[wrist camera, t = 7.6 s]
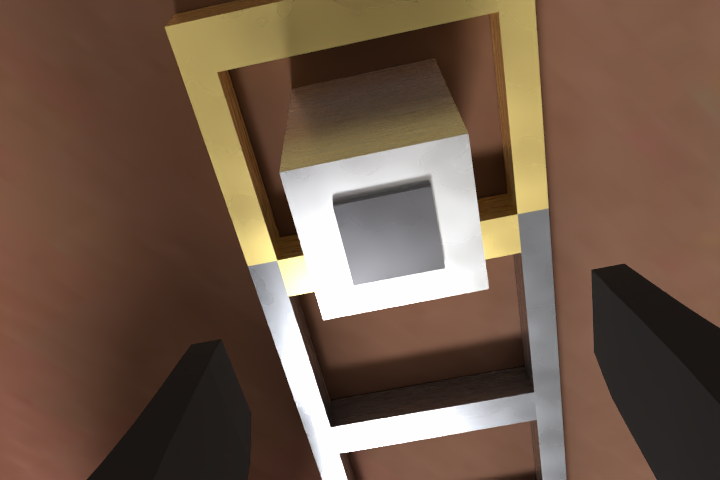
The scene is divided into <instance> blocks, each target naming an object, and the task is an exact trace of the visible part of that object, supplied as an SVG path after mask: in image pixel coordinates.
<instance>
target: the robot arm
mask: <svg viewBox="0 0 720 480" xmlns="http://www.w3.org/2000/svg"><path fill="white" fill-rule="evenodd" d="M592 301H593V331H594V353H595V356H596V358H597V361H598V363H599V366H600V369H601V371H602V374H603V377H604V379H605V382H606V384H607V386H608V389H609V391H610V394H611V396H612V399H613V401H614V402H615V404H616V406H617V408H618V410H619V412H620V414H621V415H622V417H623V419H624V421H625V423H626V425H627V426H628V428H629V430H630V432H631V434H632V436H633V437H634V439H635V441H636V443H637V445H638V446H639V448H640V450H641V452H642V454H643V455H644V457H645V459H646V461H647V463H648V464H649V466H650V468H651V470H652V472H653V473H654V475H655V477H656V479H657V480H720V328H719V327H717V326H715V325H714V324H712V323H711V322H709V321H708V320H706V319H704V318H703V317H701V316H700V315H698V314H697V313H695V312H694V311H692V310H691V309H689V308H688V307H686V306H685V305H683V304H682V303H680V302H679V301H677V300H676V299H674V298H673V297H671V296H670V295H668V294H667V293H666V292H664V291H663V290H661V289H660V288H658V287H657V286H656V285H654V284H653V283H651V282H650V281H648V280H647V279H646V278H644V277H643V276H641V275H640V274H638V273H637V272H636V271H634V270H633V269H631V268H630V267H628V266H627V265H625V264H620V265H615V266H609V267H604V268H599V269H593V270H592ZM250 446H251V412H250V410H249V407H248V405H247V402H246V400H245V397H244V395H243V392H242V390H241V387H240V385H239V382H238V380H237V377H236V375H235V372H234V370H233V367H232V365H231V362H230V360H229V357H228V355H227V352H226V350H225V347H224V345H223V342H222V340H221V339H220V340H215V341H209V342H204V343H199V344H193V345H191V346H190V347H189V349H188V350H187V351H186V353H185V354H184V355H183V357H182V358H181V360H180V361H179V362H178V364H177V365H176V367H175V368H174V369H173V371H172V372H171V374H170V375H169V376H168V378H167V379H166V381H165V382H164V383H163V385H162V386H161V388H160V389H159V390H158V392H157V393H156V394H155V396H154V397H153V399H152V400H151V401H150V403H149V404H148V405H147V407H146V408H145V409H144V411H143V412H142V413H141V415H140V416H139V417H138V419H137V420H136V421H135V423H134V424H133V425H132V426H131V428H130V429H129V430H128V431H127V433H126V434H125V435H124V436H123V437H122V439H121V440H120V441H119V442H118V444H117V445H116V446H115V447H114V449H113V450H112V451H111V452H110V453H109V455H108V456H107V457H106V458H105V460H104V461H103V462H102V463H101V464H100V465H99V467H98V468H97V469H96V470H95V471H94V472H93V473H92V474H91V476H90V477H89V478H88V479H87V480H247V478H248V471H249V464H250Z"/></svg>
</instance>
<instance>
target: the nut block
mask: <svg viewBox="0 0 720 480" xmlns="http://www.w3.org/2000/svg"><path fill="white" fill-rule="evenodd" d="M279 173H280V177H281V180H282V183H283V187H284V190H285V193H286V197H287V200H288V203H289V207H290V210H291V213H292V217H293V220H294V223H295V227H296V230H297V233H298V237H299V240H300V244H301V247H302V250H303V254H304V257H305V260H306V264H307V267H308V270H309V274H310V277H311V280H312V284H313V287H314V290H315V294H316V297H317V300H318V304H319V307H320V310H321V314H322V317H323V320H326V319H331V318H336V317H342V316H347V315H352V314H358V313H363V312H368V311H374V310H379V309H384V308H390V307H395V306H400V305H405V304H411V303H416V302H421V301H427V300H432V299H437V298H443V297H448V296H453V295H459V294H464V293H469V292H475V291H480V290H485V289H489V286H488V278H487V271H486V263H485V256H484V248H483V241H482V233H481V226H480V218H479V211H478V203H477V195H476V188H475V180H474V173H473V165H472V158H471V150H470V143H469V135H468V132H467V130H466V127H465V125H464V123H463V121H462V118H461V116H460V114H459V112H458V109H457V107H456V105H455V103H454V100H453V98H452V96H451V94H450V91H449V89H448V87H447V85H446V82H445V80H444V78H443V76H442V73H441V71H440V69H439V67H438V64H437V62H436V60H435V58H433V59H428V60H423V61H419V62H414V63H409V64H405V65H400V66H396V67H391V68H386V69H382V70H377V71H372V72H368V73H363V74H358V75H354V76H349V77H344V78H340V79H335V80H331V81H326V82H321V83H317V84H312V85H307V86H303V87H298V88H293V89H292V90H291V97H290V104H289V111H288V117H287V124H286V131H285V138H284V144H283V151H282V158H281V165H280V171H279Z"/></svg>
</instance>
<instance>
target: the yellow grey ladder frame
mask: <svg viewBox="0 0 720 480" xmlns="http://www.w3.org/2000/svg"><path fill="white" fill-rule="evenodd" d="M486 14H489V16H490V26H491V36H492V46H493V56H494V65H495V75H496V85H497V95H498V105H499V115H500V125H501V135H502V145H503V155H504V165H505V175H506V184H507V193H504V194H499V195H494V196H489V197H484V198H479V199H477V203H478V211H479V218H480V226H481V233H482V241H483V248H484V256H485V259H490V258H495V257H501V256H506V255H511V254H514V264H515V274H516V284H517V294H518V303H519V313H520V323H521V333H522V343H523V353H524V363H525V366H522V367H516V368H510V369H505V370H499V371H493V372H488V373H482V374H476V375H471V376H465V377H459V378H454V379H448V380H442V381H437V382H431V383H425V384H420V385H414V386H408V387H403V388H397V389H391V390H386V391H380V392H375V393H369V394H363V395H358V396H352V397H346V398H341V399H335V400H330V397H329V394H328V391H327V387H326V384H325V381H324V378H323V374H322V371H321V368H320V365H319V361H318V358H317V355H316V352H315V349H314V345H313V342H312V339H311V336H310V332H309V329H308V326H307V323H306V320H305V316H304V313H303V310H302V307H301V303H300V300H299V297H298V295H299V294H304V293H310V292H315V290H314V287H313V284H312V280H311V277H310V274H309V270H308V267H307V264H306V260H305V257H304V254H303V250H302V247H301V244H300V240H299V237H298V234H295V235H289V236H284V237H280V236H279V232H278V229H277V226H276V223H275V220H274V216H273V213H272V210H271V207H270V203H269V200H268V197H267V194H266V191H265V187H264V184H263V181H262V178H261V174H260V171H259V168H258V165H257V161H256V158H255V155H254V152H253V149H252V145H251V142H250V139H249V136H248V132H247V129H246V126H245V123H244V120H243V116H242V113H241V110H240V107H239V103H238V100H237V97H236V94H235V90H234V87H233V84H232V81H231V78H230V74H229V71H228V70H230V69H234V68H239V67H244V66H248V65H253V64H258V63H262V62H267V61H272V60H276V59H281V58H286V57H290V56H295V55H300V54H304V53H309V52H314V51H318V50H323V49H328V48H332V47H337V46H342V45H346V44H351V43H356V42H360V41H365V40H370V39H374V38H379V37H384V36H388V35H393V34H398V33H402V32H407V31H412V30H416V29H421V28H426V27H430V26H435V25H440V24H444V23H449V22H454V21H458V20H463V19H468V18H472V17H477V16H482V15H486ZM165 29H166V32H167V35H168V38H169V41H170V44H171V46H172V49H173V52H174V55H175V58H176V61H177V64H178V67H179V69H180V72H181V75H182V78H183V81H184V84H185V87H186V90H187V92H188V95H189V98H190V101H191V104H192V107H193V110H194V113H195V115H196V118H197V121H198V124H199V127H200V130H201V133H202V136H203V138H204V141H205V144H206V147H207V150H208V153H209V156H210V159H211V161H212V164H213V167H214V170H215V173H216V176H217V179H218V182H219V184H220V187H221V190H222V193H223V196H224V199H225V202H226V205H227V207H228V210H229V213H230V216H231V219H232V222H233V225H234V228H235V230H236V233H237V236H238V239H239V242H240V245H241V248H242V251H243V253H244V256H245V259H246V262H247V265H248V268H249V271H250V273H251V276H252V279H253V282H254V285H255V288H256V291H257V294H258V296H259V299H260V302H261V305H262V308H263V311H264V314H265V317H266V319H267V322H268V325H269V328H270V331H271V334H272V337H273V340H274V342H275V345H276V348H277V351H278V354H279V357H280V360H281V363H282V365H283V368H284V371H285V374H286V377H287V380H288V383H289V386H290V388H291V391H292V394H293V397H294V400H295V403H296V406H297V409H298V411H299V414H300V417H301V420H302V423H303V426H304V429H305V432H306V434H307V437H308V440H309V443H310V446H311V449H312V452H313V455H314V457H315V460H316V463H317V466H318V469H319V472H320V475H321V478H322V480H355V478H354V474H353V471H352V468H351V465H350V461H349V458H348V455H347V452H351V451H357V450H363V449H369V448H374V447H380V446H386V445H392V444H398V443H404V442H410V441H415V440H421V439H427V438H433V437H439V436H445V435H450V434H456V433H462V432H468V431H474V430H480V429H486V428H491V427H497V426H503V425H509V424H515V423H521V422H527V421H530V422H531V432H532V442H533V452H534V462H535V472H536V480H566V464H565V449H564V434H563V419H562V404H561V389H560V373H559V358H558V343H557V328H556V313H555V298H554V282H553V267H552V252H551V237H550V222H549V207H548V191H547V176H546V161H545V146H544V131H543V116H542V100H541V85H540V70H539V55H538V40H537V25H536V9H535V0H236V1H231V2H227V3H222V4H218V5H213V6H209V7H204V8H200V9H195V10H191V11H186V12H182V13H177V14H175V15H174V16H173V17H172V19H171V20H170V21H169V22H168V23H167V25H166V26H165Z"/></svg>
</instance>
